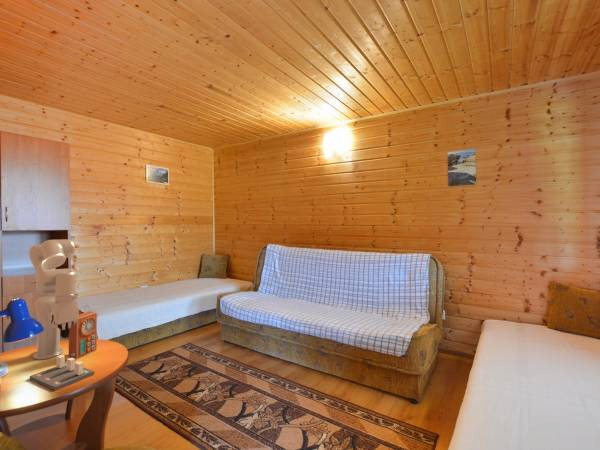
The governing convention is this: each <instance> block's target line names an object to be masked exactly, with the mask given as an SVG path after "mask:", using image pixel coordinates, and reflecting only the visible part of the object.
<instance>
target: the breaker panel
mask: <svg viewBox="0 0 600 450" xmlns="http://www.w3.org/2000/svg"><path fill="white" fill-rule="evenodd" d="M93 375H95V371H94V370H92V369H88V368H87V367H84V366H83V374H81V375H77V374H75V370H72V371H69V370H67V362H65V367H62V368H58V367H57V365H56V366H54V367H51V368H48V369H46V370H43V371H40V372H37V373H34V374H31V375H29V381H32V382H34V383H37V384H39V385H41V386H44V387H46V388H48V389H51V390H53V391H58V390H61V389H63V388H66V387H68V386H70V385H73V384H74V383H77V382H81V381H82V380H85V379H87V378H89V377H91V376H93Z"/></svg>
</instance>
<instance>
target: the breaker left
mask: <svg viewBox="0 0 600 450" xmlns="http://www.w3.org/2000/svg"><path fill="white" fill-rule="evenodd" d="M65 363H66V356H65V355H63V354H60V355H58V356H56V366H57V367H58V368H62V367H65Z"/></svg>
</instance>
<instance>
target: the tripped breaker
mask: <svg viewBox="0 0 600 450" xmlns="http://www.w3.org/2000/svg"><path fill="white" fill-rule="evenodd" d="M66 363H67V370H69V371H72V370H75V363H76V359H74V358H69V357H68V358H66Z"/></svg>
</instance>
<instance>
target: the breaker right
mask: <svg viewBox="0 0 600 450" xmlns="http://www.w3.org/2000/svg"><path fill="white" fill-rule="evenodd" d="M83 367H84V362H83V361H81V360H79V361H75V374H77V375H81V374H83Z"/></svg>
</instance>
